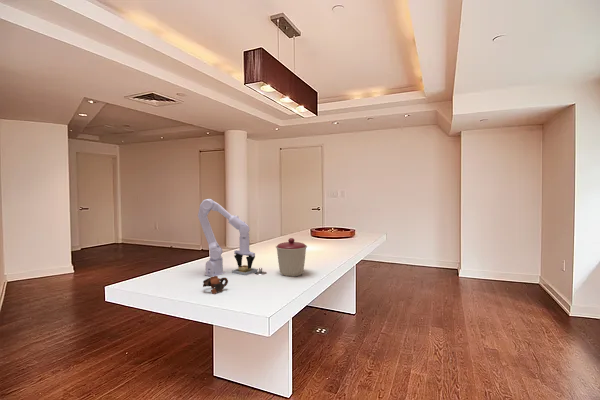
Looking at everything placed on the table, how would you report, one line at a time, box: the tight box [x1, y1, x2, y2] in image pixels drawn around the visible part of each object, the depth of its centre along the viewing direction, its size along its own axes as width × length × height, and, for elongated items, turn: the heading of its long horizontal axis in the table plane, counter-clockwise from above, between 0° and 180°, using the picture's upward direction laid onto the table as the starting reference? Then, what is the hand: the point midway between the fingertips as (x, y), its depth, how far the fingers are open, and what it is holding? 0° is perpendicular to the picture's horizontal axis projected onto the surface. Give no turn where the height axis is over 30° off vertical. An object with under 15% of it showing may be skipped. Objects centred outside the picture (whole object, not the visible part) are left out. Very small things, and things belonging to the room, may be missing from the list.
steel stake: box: [253, 267, 268, 276], centre depth 189 cm, size 7×7×3 cm
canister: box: [275, 237, 308, 277], centre depth 187 cm, size 18×18×21 cm
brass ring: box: [237, 264, 252, 273], centre depth 191 cm, size 6×5×3 cm
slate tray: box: [231, 267, 259, 276], centre depth 191 cm, size 11×11×2 cm
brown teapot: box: [202, 275, 229, 295], centre depth 160 cm, size 12×10×8 cm
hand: (244, 267), depth 191 cm, fingers open, 7 cm apart
